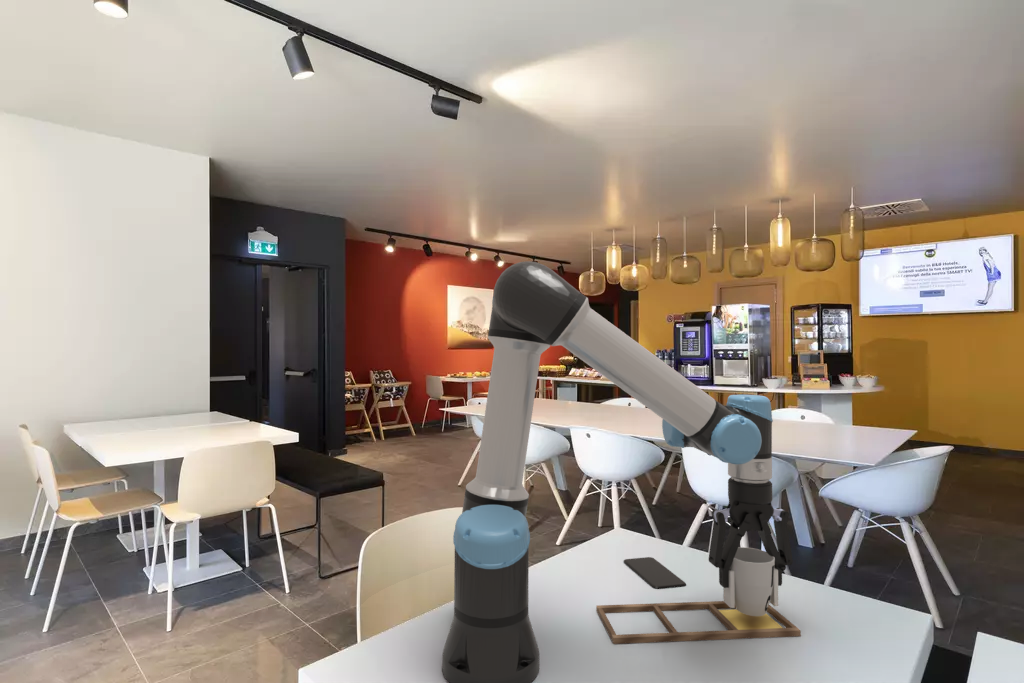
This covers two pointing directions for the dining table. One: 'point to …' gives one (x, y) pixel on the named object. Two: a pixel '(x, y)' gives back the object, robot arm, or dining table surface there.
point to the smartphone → (654, 573)
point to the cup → (753, 580)
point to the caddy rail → (731, 619)
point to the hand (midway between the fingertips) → (750, 603)
